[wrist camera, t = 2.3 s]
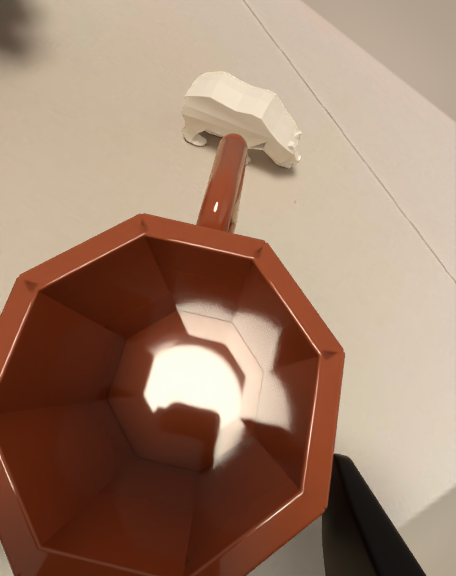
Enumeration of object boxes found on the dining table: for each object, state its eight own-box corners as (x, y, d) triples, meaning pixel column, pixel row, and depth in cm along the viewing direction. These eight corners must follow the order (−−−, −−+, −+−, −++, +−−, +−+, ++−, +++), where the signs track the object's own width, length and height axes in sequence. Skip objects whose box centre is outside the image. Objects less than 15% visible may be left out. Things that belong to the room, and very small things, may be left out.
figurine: (198, 115, 23) (195, 51, 19) (300, 162, 22) (322, 107, 18) (181, 140, 22) (173, 79, 18) (286, 189, 22) (305, 139, 17)
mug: (253, 497, 13) (313, 658, 5) (79, 455, 13) (-108, 553, 5) (296, 247, 16) (373, 121, 8) (157, 215, 16) (109, 64, 9)
